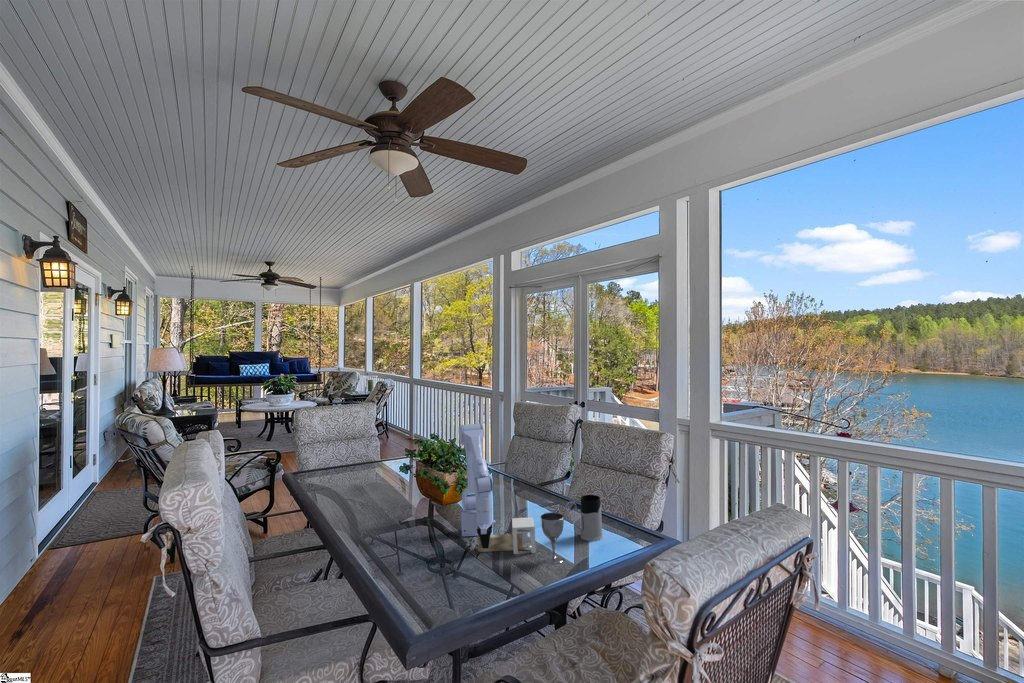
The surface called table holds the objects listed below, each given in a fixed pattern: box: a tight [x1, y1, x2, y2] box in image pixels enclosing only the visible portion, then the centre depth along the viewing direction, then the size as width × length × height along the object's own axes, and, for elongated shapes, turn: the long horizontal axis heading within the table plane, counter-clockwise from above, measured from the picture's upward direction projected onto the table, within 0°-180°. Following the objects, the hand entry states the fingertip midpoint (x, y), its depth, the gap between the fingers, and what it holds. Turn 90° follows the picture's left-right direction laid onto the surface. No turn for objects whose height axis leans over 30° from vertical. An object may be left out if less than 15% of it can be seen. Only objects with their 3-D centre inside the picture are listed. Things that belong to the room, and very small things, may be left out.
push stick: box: [477, 533, 524, 553], centre depth 173 cm, size 16×2×5 cm, turn 91°
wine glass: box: [540, 511, 565, 565], centre depth 163 cm, size 8×8×15 cm
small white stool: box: [511, 517, 537, 555], centre depth 173 cm, size 8×10×10 cm
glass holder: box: [565, 494, 604, 542], centre depth 181 cm, size 9×14×15 cm, turn 90°
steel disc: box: [522, 542, 531, 552], centre depth 173 cm, size 4×4×1 cm
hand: (485, 546), depth 173 cm, fingers closed on push stick, 2 cm apart
